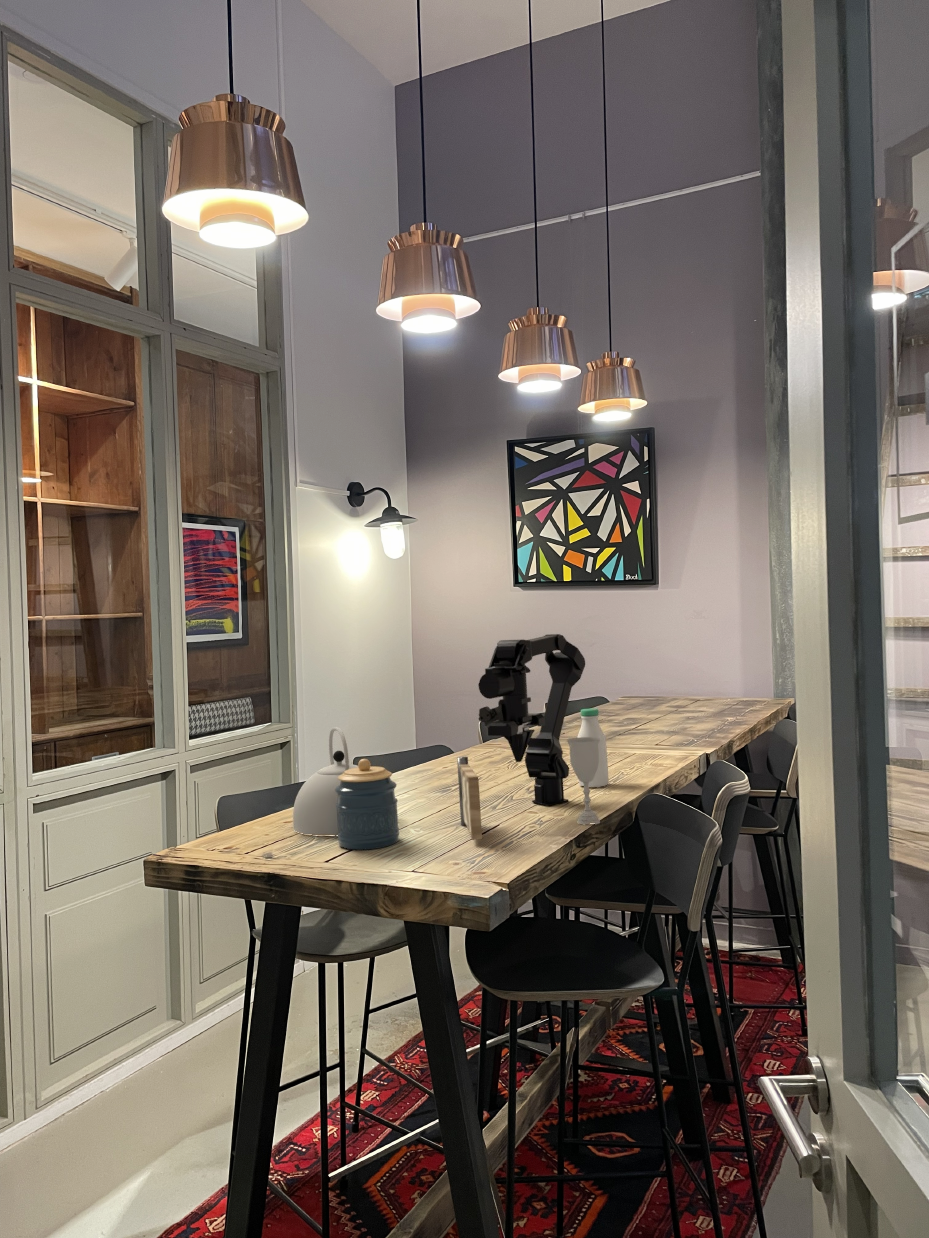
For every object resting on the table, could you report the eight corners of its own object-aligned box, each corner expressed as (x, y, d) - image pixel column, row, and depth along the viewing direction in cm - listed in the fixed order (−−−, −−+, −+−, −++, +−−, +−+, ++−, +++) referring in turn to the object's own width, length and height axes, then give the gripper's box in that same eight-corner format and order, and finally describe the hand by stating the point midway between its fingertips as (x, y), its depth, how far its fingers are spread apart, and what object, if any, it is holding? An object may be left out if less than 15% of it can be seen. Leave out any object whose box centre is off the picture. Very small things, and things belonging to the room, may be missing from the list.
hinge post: (467, 823, 204) (463, 756, 204) (474, 824, 202) (469, 757, 202) (458, 824, 203) (454, 757, 203) (465, 826, 201) (461, 758, 201)
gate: (462, 821, 200) (459, 764, 200) (471, 820, 201) (468, 764, 201) (472, 839, 184) (468, 777, 184) (482, 838, 184) (478, 776, 184)
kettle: (284, 820, 220) (278, 726, 219) (375, 807, 227) (370, 717, 227) (302, 842, 196) (296, 737, 196) (403, 827, 204) (397, 727, 204)
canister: (347, 854, 183) (342, 766, 183) (330, 841, 195) (325, 758, 195) (408, 844, 188) (403, 759, 188) (388, 832, 200) (383, 751, 200)
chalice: (608, 818, 200) (603, 737, 200) (602, 826, 193) (597, 741, 193) (575, 818, 202) (570, 737, 202) (568, 825, 196) (563, 742, 196)
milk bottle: (613, 783, 239) (609, 707, 239) (601, 789, 233) (596, 711, 233) (586, 782, 244) (582, 707, 244) (574, 787, 237) (569, 710, 237)
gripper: (502, 690, 222) (506, 754, 222) (464, 698, 206) (468, 767, 206) (543, 689, 217) (547, 755, 217) (508, 698, 200) (512, 769, 201)
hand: (518, 761), depth 210 cm, fingers closed
